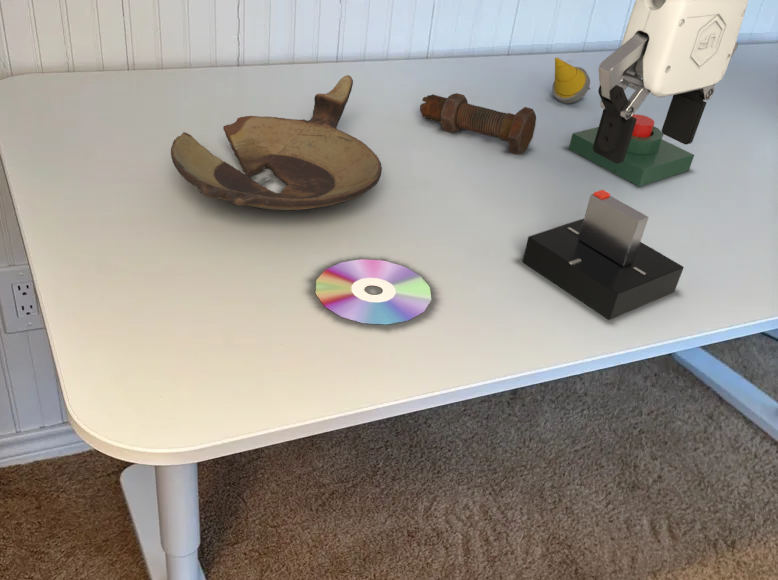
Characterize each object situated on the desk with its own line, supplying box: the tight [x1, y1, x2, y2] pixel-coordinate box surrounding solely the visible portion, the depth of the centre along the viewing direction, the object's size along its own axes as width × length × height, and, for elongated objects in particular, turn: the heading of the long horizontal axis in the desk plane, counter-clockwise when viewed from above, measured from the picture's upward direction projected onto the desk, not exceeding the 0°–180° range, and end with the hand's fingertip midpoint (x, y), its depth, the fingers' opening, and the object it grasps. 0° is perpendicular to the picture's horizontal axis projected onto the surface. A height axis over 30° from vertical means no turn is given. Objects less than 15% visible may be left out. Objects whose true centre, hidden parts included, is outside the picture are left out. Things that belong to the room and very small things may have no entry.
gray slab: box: [579, 189, 649, 267], centre depth 81 cm, size 6×2×5 cm, turn 36°
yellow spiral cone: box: [551, 57, 591, 105], centre depth 119 cm, size 5×5×10 cm
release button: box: [632, 113, 656, 137], centre depth 105 cm, size 4×4×2 cm
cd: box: [315, 258, 432, 325], centre depth 79 cm, size 11×11×1 cm
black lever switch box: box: [522, 217, 685, 321], centre depth 84 cm, size 12×10×3 cm
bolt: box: [419, 92, 537, 155], centre depth 108 cm, size 6×5×15 cm
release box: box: [568, 125, 695, 187], centre depth 107 cm, size 12×10×4 cm
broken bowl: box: [170, 74, 383, 211], centre depth 92 cm, size 22×30×8 cm
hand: (642, 147), depth 75 cm, fingers open, 9 cm apart
